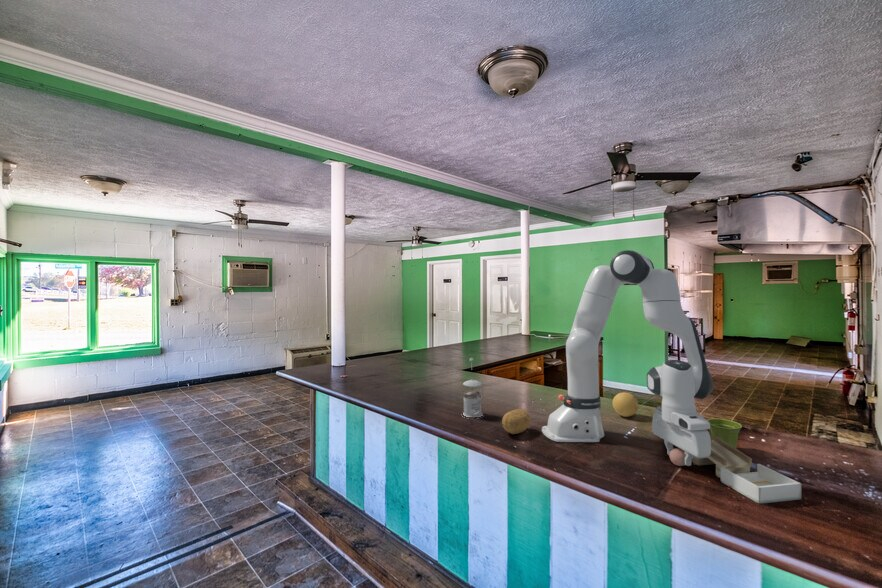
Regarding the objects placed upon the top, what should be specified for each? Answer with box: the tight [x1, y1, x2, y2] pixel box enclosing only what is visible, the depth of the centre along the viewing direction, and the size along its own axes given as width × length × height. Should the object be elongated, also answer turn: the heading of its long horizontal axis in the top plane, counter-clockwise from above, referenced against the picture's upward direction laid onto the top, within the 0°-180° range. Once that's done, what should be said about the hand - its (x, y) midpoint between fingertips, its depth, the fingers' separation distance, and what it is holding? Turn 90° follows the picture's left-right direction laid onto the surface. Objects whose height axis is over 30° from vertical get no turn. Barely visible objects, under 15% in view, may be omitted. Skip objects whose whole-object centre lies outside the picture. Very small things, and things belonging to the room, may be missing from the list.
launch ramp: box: [691, 436, 753, 479], centre depth 115 cm, size 9×12×7 cm
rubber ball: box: [668, 447, 686, 467], centre depth 118 cm, size 5×5×5 cm
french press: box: [462, 357, 484, 418], centre depth 169 cm, size 10×12×25 cm
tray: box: [720, 463, 802, 505], centre depth 103 cm, size 12×11×4 cm
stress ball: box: [612, 391, 640, 418], centre depth 163 cm, size 10×10×10 cm
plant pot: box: [706, 418, 743, 449], centre depth 128 cm, size 9×9×9 cm
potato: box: [501, 408, 531, 435], centre depth 147 cm, size 10×14×8 cm
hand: (679, 460), depth 118 cm, fingers closed on rubber ball, 5 cm apart
